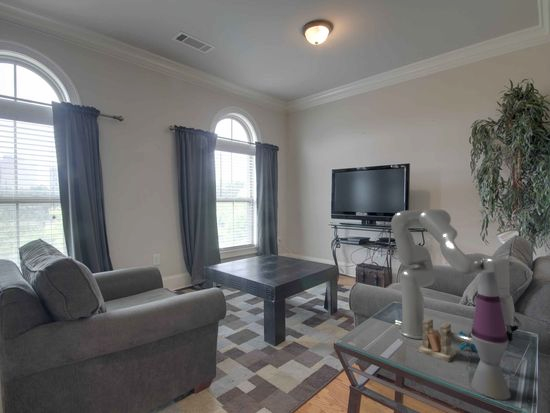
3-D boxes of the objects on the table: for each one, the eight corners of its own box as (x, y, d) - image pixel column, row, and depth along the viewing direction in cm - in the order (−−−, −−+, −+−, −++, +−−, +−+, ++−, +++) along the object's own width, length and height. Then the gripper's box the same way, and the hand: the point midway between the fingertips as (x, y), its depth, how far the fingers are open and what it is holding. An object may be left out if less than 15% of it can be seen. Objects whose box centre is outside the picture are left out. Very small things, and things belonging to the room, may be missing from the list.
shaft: (445, 338, 119) (445, 315, 119) (448, 335, 121) (447, 313, 121) (502, 354, 105) (501, 328, 105) (504, 351, 107) (503, 326, 107)
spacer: (433, 350, 121) (427, 334, 123) (438, 345, 125) (433, 330, 127) (438, 350, 120) (432, 334, 121) (443, 345, 124) (437, 330, 126)
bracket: (417, 351, 124) (416, 322, 124) (426, 343, 131) (426, 315, 131) (448, 362, 115) (447, 330, 115) (457, 353, 122) (456, 323, 122)
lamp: (516, 392, 96) (513, 271, 96) (502, 404, 90) (499, 276, 90) (479, 376, 105) (477, 266, 105) (465, 386, 99) (462, 270, 100)
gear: (483, 354, 117) (462, 333, 121) (471, 363, 119) (450, 341, 123) (480, 347, 126) (461, 327, 131) (469, 354, 128) (450, 334, 132)
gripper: (466, 288, 111) (467, 335, 111) (525, 297, 98) (526, 351, 98) (472, 284, 116) (473, 329, 116) (528, 293, 103) (529, 344, 103)
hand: (497, 338), depth 107 cm, fingers open, 5 cm apart
